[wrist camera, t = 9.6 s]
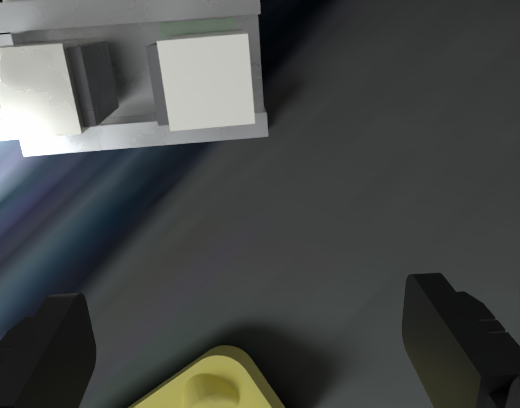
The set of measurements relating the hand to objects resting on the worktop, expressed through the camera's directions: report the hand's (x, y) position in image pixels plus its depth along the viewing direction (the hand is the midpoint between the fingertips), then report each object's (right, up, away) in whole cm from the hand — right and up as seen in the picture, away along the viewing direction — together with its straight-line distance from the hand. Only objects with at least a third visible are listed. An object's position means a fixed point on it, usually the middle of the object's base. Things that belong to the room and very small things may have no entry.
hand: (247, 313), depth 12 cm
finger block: (-3, +11, +16) cm, 19 cm away
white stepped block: (-7, +11, +17) cm, 21 cm away
